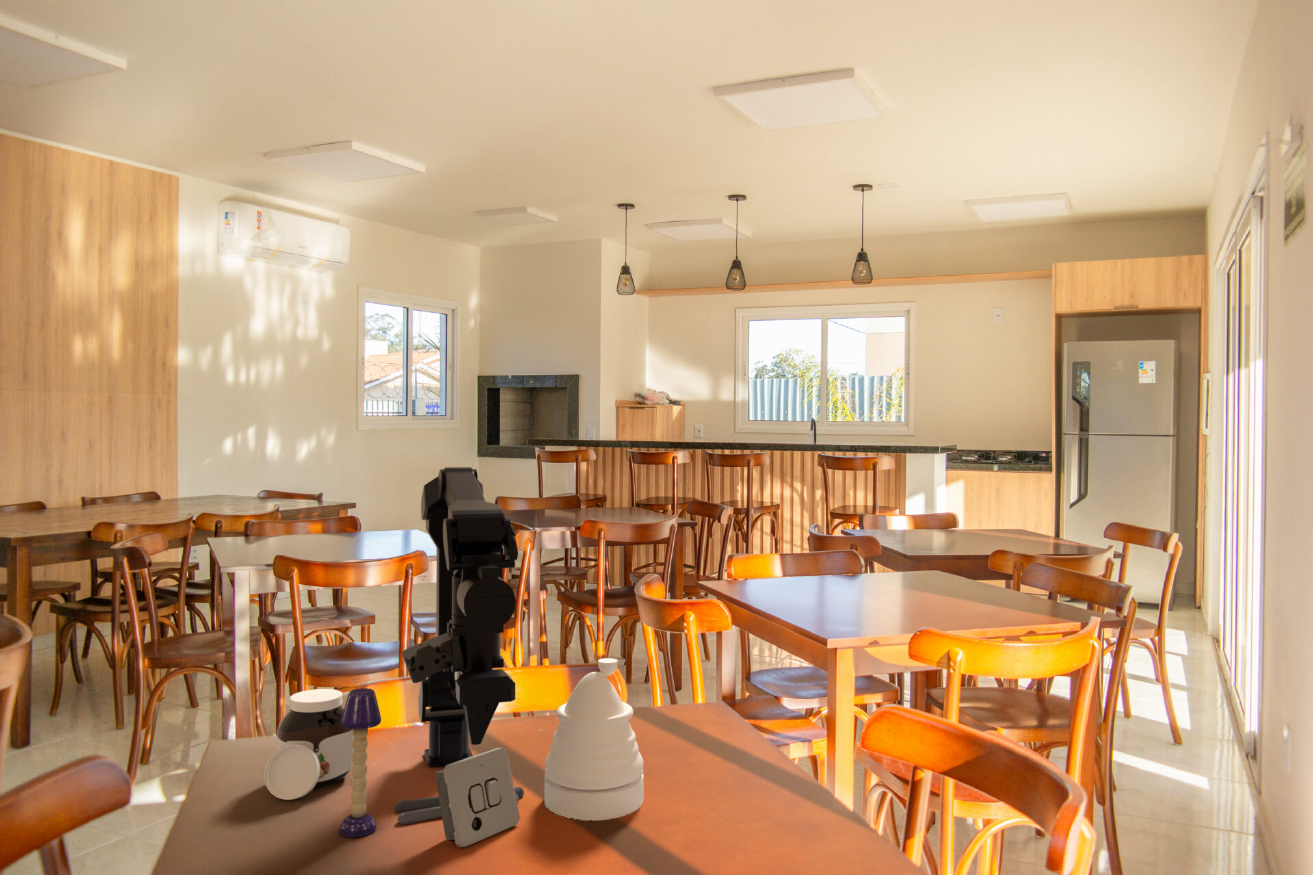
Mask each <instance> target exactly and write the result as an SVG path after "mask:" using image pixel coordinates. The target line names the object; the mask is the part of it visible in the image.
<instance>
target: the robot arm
mask: <svg viewBox="0 0 1313 875" xmlns="http://www.w3.org/2000/svg"><path fill="white" fill-rule="evenodd" d="M421 493H422V494H421V501H420V514H421V521H425V530H426V533H427V534H428V536H429V537H430V539H431V541H432V543H433V544H434V545H435V548H436V571H435V572H436V580H435V581H436V583H435V584H436V587H435V588H436V594H435V595H436V599H435V600H436V602H435V603H436V604H435V605H436V606H435V607H436V608H435V610H436V612H435V614H436V616H435V618H436V619H435V622H436V624H435V625H436V626H435V628H436V631H435V633H436V635H435V636H434V637H431V638H429V639H427V640H424V641H422V642H420V643H416V644H414V645H413V646H410V647H408V648H406V649H404V650H402V652H401V655H402V658H403V661H404V664H405V666H406V669H407V671H408V675H409V676H410V680H411V682H412V684H418V683H420V684H419V693H418V716H419V719H420V722H421V723H426V722H427V723H428V748H426V749H424V753H423V754H424V757H425V759H426V764H427V766H428V767H437V766H446V765H448V764H451V763H454V762H457V761H460V760H463V759H466V758H469V757H472V756H474V755H473V753H472V751H471V747H470V745H469V743H470V744H471V745H473V746H477V745H481V744H482V742H483V740H484V737H485V735H486V733H487V731H488V728H489V726H490V725H491V722H492V719H493V718H494V715H495V713H496V710H497V708H498V707H499V704H500V703H509V702H513V701H516V683H515V681H514V679H513V678H512V677H511V675H510V674H509V673H507V672H506V671H505V670H504V669H502V668H504V657H503V656H502V655H501V634H503V633H504V631H505V630H504V628H505V627H504V626H505V625H506V624H507V623H509V621H510V620H511V618H512V617H513V615H514V612H515V610H516V606H517V599H516V595H515V593H514V590H513V588H512V587H511V586H510V584H508V582H506V580H504V579H503V569H515V568H516V561H518V556H519V550H518V545H517V537H516V533H515V528H514V526H513V525H512V523H511V519H510V517H508V516H506V514H505V511H504V509H503V508H501V506H500V505H499V504H497V503H494V502H489V501H486V498H485V496H484V485H483V483H482V482H481V481H480V480H479V475H478V470H477V468H472V467H471V466H470V467H469V466H466V467H465V466H461V467H460V466H459V467H457V466H456V467H455V466H452V467H450V466H449V467H448V466H447V467H446V466H445V467H444V468H443V469H442V468H440V469H439V471H438V474H437V477H434V478H433V479H432V480H430V481H428V482H427V483H426V484H424V485H423V489H422V492H421ZM469 741H470V742H469Z"/></svg>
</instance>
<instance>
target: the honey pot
mask: <svg viewBox="0 0 1313 875" xmlns="http://www.w3.org/2000/svg"><path fill="white" fill-rule="evenodd" d="M618 662H619V660H618V659H616V658H612V657H611V658H610V657H609V658H600V659H598V660H597V664H598V668H599V670H600V671H592V672H588V673H587V674H585V676H583V677H582V678H581V679H580V680H579V682H578V683H577V684H576V686H575V687H574V689H573V690H572V692H571V694H570V696H569V698H568V700H567V702H566V703H564V704H562V705H560V706H559V707H558V708H557V710H556V717H557V719H559V723H558V724H557V727H556V731H555V732H554V733H553V735H552V743H551V744H550V746H549V753H548V755H547V756H546V758H545V760H544V768H545V769H544V807H545V808H546V809H547V808H548V809H549V810H550V811H549V810H548V809H547V810H548V811H549V812H551V811H552V812H554V813H555V815H556V814H558V815H557V816H559V815H561V816H560V817H562V816H564V817H563V818H565V817H567V818H566V819H570V818H574V819H573V820H576V819H577V821H590V820H592V821H591V822H593V821H606V820H613V819H616V818H617V819H618V818H621V817H624V816H628V815H630V814H632V813H634V812H636V811H637V810H639V809H640V808H641V807H642V806H643V804H644V803H643V802H644V776H645V775H644V759H643V757H642V754H641V752H640V751H639V749H640V748H639V744H638V742H637V741H636V739H637V738H636V733H635V731H634V730H633V729H632V725H631V722H630V719H631V718H632V717H633V714H634V709H633V707H632V706H631V705H630V704H628V703H626V702H624V701H622V699H621V697H620V695H619V693H618V692H617V690H616V688H615V687H614V685H613V684H612V682H611V680H609V679H608V677H609V676H612V675H613V674H614V673H615V671H616V670H617V667H618ZM552 812H551V813H552ZM554 813H553V814H554ZM627 814H628V815H627ZM612 818H613V819H612ZM578 819H580V820H578Z"/></svg>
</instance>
